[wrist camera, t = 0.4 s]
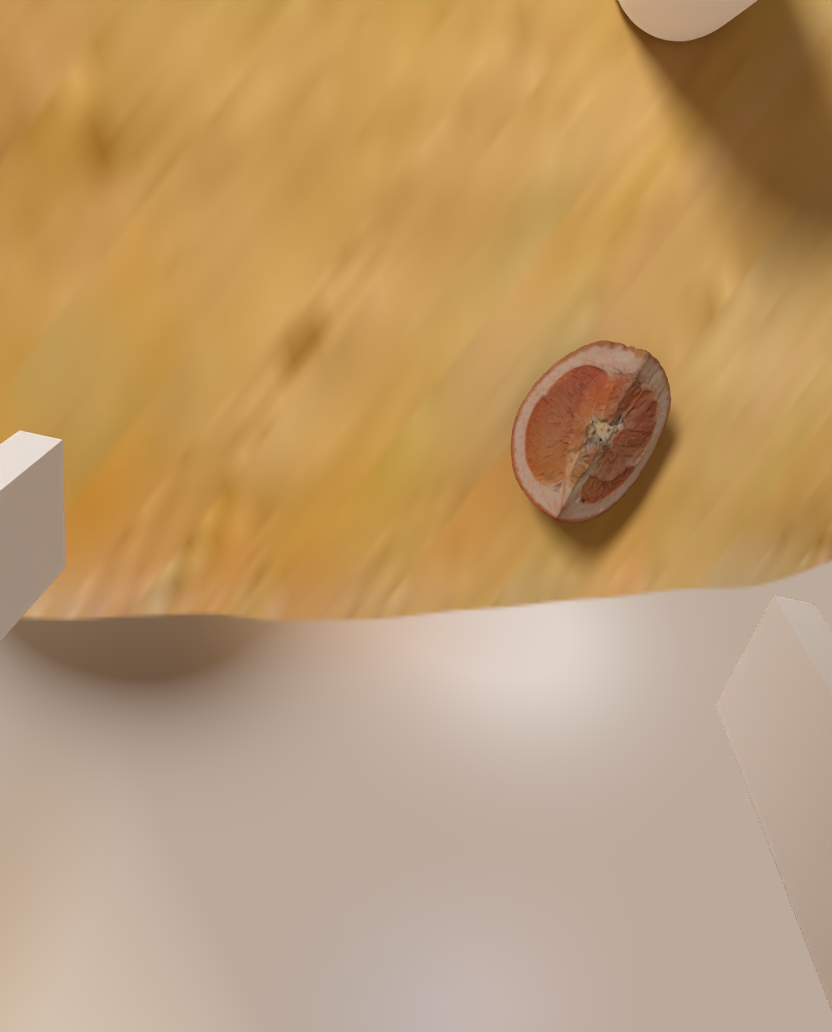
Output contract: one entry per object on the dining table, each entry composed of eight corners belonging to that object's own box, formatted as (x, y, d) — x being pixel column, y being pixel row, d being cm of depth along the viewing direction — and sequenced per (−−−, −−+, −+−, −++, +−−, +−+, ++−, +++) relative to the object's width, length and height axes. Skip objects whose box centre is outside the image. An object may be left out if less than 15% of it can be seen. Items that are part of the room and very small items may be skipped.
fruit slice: (564, 313, 37) (589, 319, 32) (681, 376, 38) (722, 391, 33) (481, 464, 39) (493, 491, 34) (594, 520, 40) (621, 554, 35)
